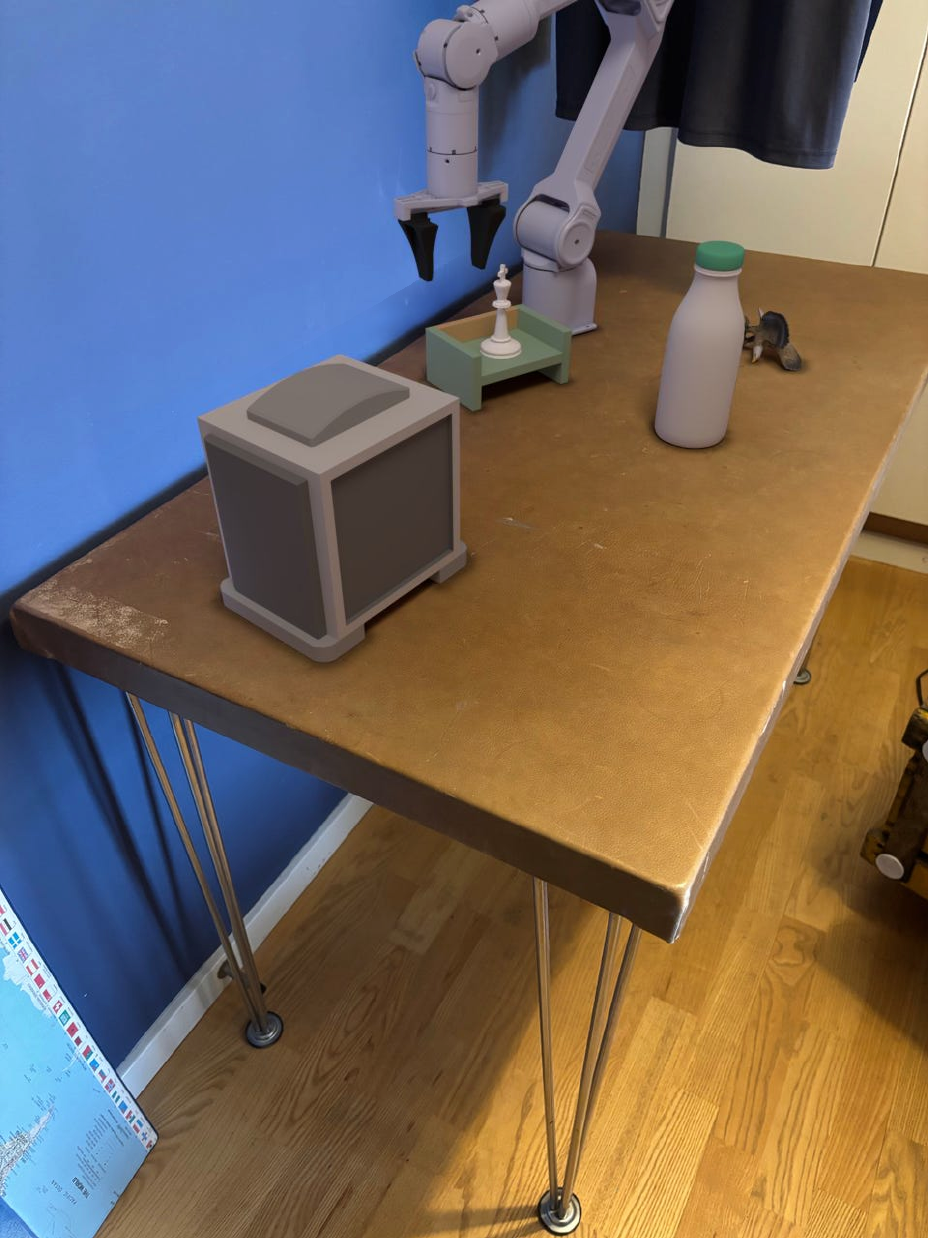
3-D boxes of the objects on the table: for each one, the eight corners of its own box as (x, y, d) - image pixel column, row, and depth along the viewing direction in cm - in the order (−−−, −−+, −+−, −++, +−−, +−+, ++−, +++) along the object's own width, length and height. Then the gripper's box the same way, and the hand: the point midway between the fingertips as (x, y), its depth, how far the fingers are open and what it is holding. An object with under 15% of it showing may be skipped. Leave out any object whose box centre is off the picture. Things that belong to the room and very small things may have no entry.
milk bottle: (725, 453, 97) (764, 262, 84) (652, 446, 98) (680, 256, 85) (724, 420, 103) (761, 236, 90) (655, 413, 104) (681, 231, 91)
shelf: (519, 353, 117) (521, 303, 113) (568, 382, 110) (572, 329, 106) (426, 380, 111) (425, 328, 107) (472, 411, 104) (473, 357, 100)
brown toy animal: (715, 351, 115) (780, 359, 109) (734, 294, 114) (800, 299, 108) (742, 368, 120) (806, 377, 114) (760, 314, 119) (825, 321, 113)
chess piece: (472, 354, 107) (473, 267, 101) (491, 339, 110) (492, 254, 104) (510, 362, 105) (513, 275, 99) (528, 347, 109) (532, 261, 102)
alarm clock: (367, 510, 88) (352, 326, 77) (472, 560, 82) (473, 367, 70) (216, 601, 78) (172, 402, 66) (324, 667, 71) (297, 460, 59)
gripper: (415, 165, 95) (419, 294, 104) (526, 147, 102) (520, 270, 110) (381, 151, 100) (387, 276, 109) (489, 135, 106) (487, 255, 115)
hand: (452, 272), depth 110 cm, fingers open, 7 cm apart
